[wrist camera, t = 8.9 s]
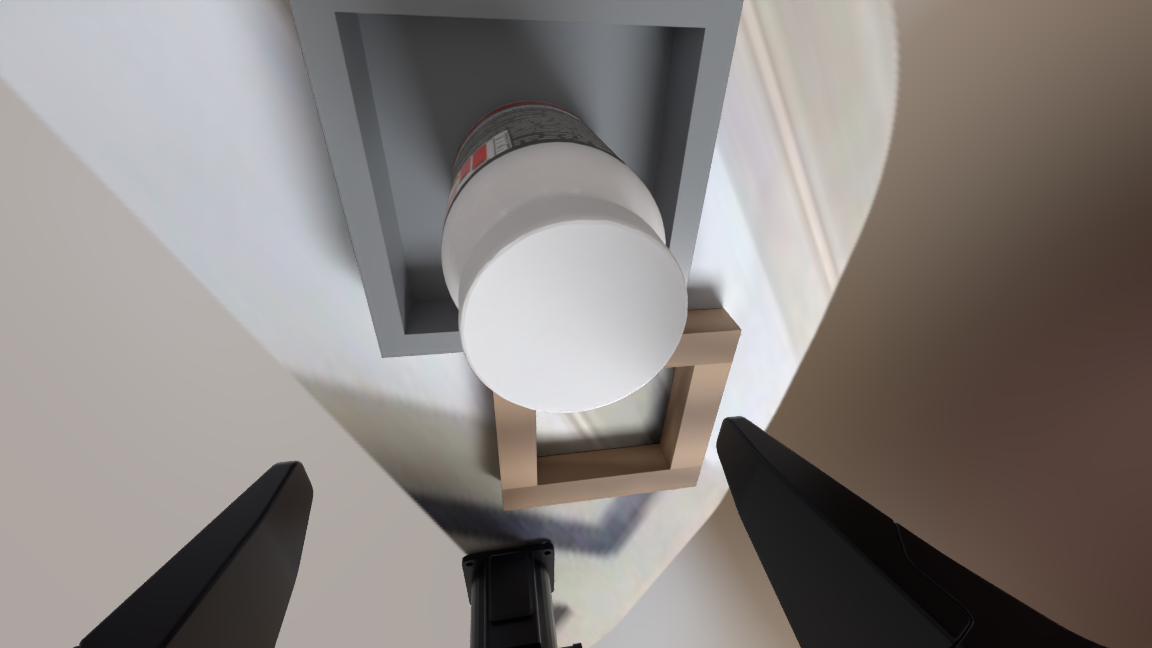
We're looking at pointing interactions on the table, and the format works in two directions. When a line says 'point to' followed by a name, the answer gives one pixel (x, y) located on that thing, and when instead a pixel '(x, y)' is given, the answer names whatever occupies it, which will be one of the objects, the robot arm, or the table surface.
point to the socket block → (630, 468)
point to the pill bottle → (557, 263)
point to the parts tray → (483, 83)
